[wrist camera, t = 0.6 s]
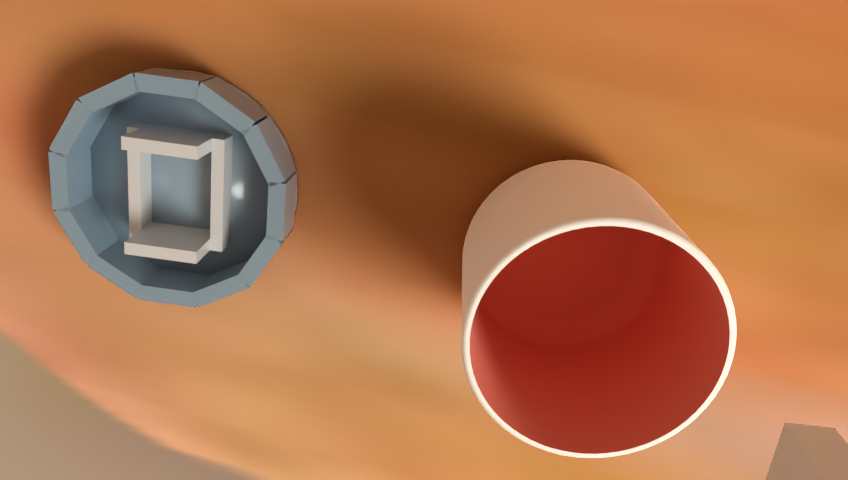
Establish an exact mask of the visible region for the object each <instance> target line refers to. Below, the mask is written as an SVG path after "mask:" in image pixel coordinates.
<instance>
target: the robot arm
mask: <svg viewBox="0 0 848 480" xmlns="http://www.w3.org/2000/svg"><path fill="white" fill-rule="evenodd" d="M766 480H848V444H847V443H846V441H845V440H844V439H843V438H842V437H841V435H840V434H839V433H838V432H837V431H836V429H835V428H828V427H820V426H811V425H802V424H793V423H785V424H784V427H783V430H782V433H781V436H780V439H779V442H778V445H777V448H776V451H775V454H774V457H773V460H772V463H771V465H770V468H769V471H768V474H767V477H766Z"/></svg>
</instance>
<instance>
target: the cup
mask: <svg viewBox="0 0 848 480" xmlns="http://www.w3.org/2000/svg"><path fill="white" fill-rule="evenodd" d="M736 335H737V327H736V316H735V309H734V305H733V302H732V298H731V295H730V293H729V290H728V288H727V286H726V284H725V282H724V280H723V278H722V276H721V275H720V273H719V272H718V270H717V268H716V267H715V266H714V265H713V263H712V262H711V261H710V260H709V259H708V257H707V256H706V255H705V254H704V253H703V252H702V251H701V250H700V249H699V248H698V247H697V245H696V244H695V243H694V242H693V241H692V240H691V239H690V238H689V237H688V236H687V235H686V234H685V233H684V231H683V230H682V229H681V228H680V227H679V226H678V225H677V224H676V223H675V222H674V221H673V220H672V218H671V217H670V216H669V215H668V214H667V213H666V212H665V211H664V210H663V209H662V208H661V206H660V205H659V204H658V203H657V202H656V201H655V200H654V199H653V198H652V197H651V196H650V194H649V193H648V192H647V191H646V190H645V189H644V188H643V187H642V186H640V185H639V184H638V183H637V182H636V181H634V180H633V179H631V178H630V177H629V176H627V175H625V174H623V173H622V172H620V171H617V170H615V169H613V168H610V167H608V166H606V165H602V164H599V163H595V162H589V161H583V160H558V161H552V162H546V163H542V164H539V165H535V166H532V167H530V168H528V169H525V170H523V171H521V172H519V173H517V174H515V175H513V176H512V177H510V178H509V179H507V180H506V181H504V182H503V183H502V184H500V185H499V186H498V187H497V188H496V189H495V190H494V191H492V192H491V193H490V195H489V196H488V197H487V198H486V199H485V200H484V201H483V203H482V204H481V206H480V207H479V208H478V210H477V212H476V213H475V215H474V217H473V219H472V221H471V223H470V226H469V228H468V231H467V234H466V237H465V241H464V246H463V255H462V357H463V363H464V368H465V372H466V375H467V378H468V381H469V383H470V386H471V388H472V390H473V392H474V394H475V396H476V397H477V399H478V401H479V402H480V404H481V405H482V407H483V408H484V409H485V410H486V411H487V413H488V414H489V415H490V416H491V417H492V418H493V419H494V420H495V421H496V422H497V423H498V424H499V425H500V426H501V427H503V428H504V429H505V430H506V431H508V432H509V433H511V434H512V435H513V436H515V437H517V438H518V439H520V440H522V441H524V442H526V443H528V444H530V445H532V446H535V447H537V448H540V449H543V450H545V451H548V452H552V453H555V454H559V455H565V456H571V457H581V458H604V457H613V456H619V455H624V454H629V453H633V452H636V451H639V450H643V449H646V448H648V447H651V446H653V445H655V444H658V443H660V442H662V441H664V440H666V439H667V438H669V437H671V436H673V435H675V434H676V433H678V432H679V431H680V430H682V429H683V428H685V427H686V426H687V425H689V424H690V423H691V422H692V421H693V420H695V419H696V418H697V417H698V416H699V415H700V414H701V413H702V412H703V411H704V410H705V409H706V408H707V406H708V405H709V404H710V403H711V401H712V400H713V399H714V397H715V396H716V394H717V393H718V391H719V390H720V388H721V386H722V385H723V383H724V381H725V379H726V376H727V374H728V372H729V369H730V366H731V363H732V360H733V356H734V352H735V346H736Z"/></svg>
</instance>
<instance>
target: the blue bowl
mask: <svg viewBox="0 0 848 480" xmlns="http://www.w3.org/2000/svg"><path fill="white" fill-rule="evenodd" d="M49 149H50V150H51V151H49V152H48V156H49V171H50V185H51V200H52V210H57V211H55V212H53V213H54V215H55V216H56V218H57V220H58V221H59V223H60V224H61V226H62V228H63V229H64V231H65V233H66V234H67V236H68V237H69V239H70V241H71V242H72V244H73V245H74V247H75V249H76V250H77V252H78V254H79V255H80V257H81V258H82V260H83V262H84V263H88V262H89V263H88V265H87V266H88V267H89V268H91V269H92V270H94V271H96V272H97V273H99V274H100V275H102V276H103V277H105V278H106V279H108V280H109V281H111V282H112V283H114V284H115V285H117V286H118V287H120V288H121V289H123V290H124V291H126V292H127V293H129V294H131V295H132V296H134V297H135V298H138V297H139V296H140V300H145V301H152V302H160V303H167V304H174V305H181V306H189V307H197V306H198V307H201V306H203V305H206V304H208V303H211V302H214V301H216V300H219V299H221V298H224V297H227V296H229V295H232V294H234V293H237V292H240V291H242V290H245V289H247V288H249V287H250V286H251V285H252V284H253V283H254V281H255V280H256V278H257V277H258V276H259V274H260V273H261V272H262V270H263V269H264V267H265V266H266V265H267V263H268V262H269V261H270V259H271V258H272V257H273V255H274V254H275V252H276V251H277V250H278V248H279V247H280V246H281V244H282V243H283V242H284V240H285V239H286V237H287V236H288V235H289V233H290V232H291V231H292V229H293V227H294V217H295V213H296V209H297V202H298V178H297V170H296V166H295V162H294V158H293V155H292V152H291V150H290V147H289V145H288V142H287V140H286V138H285V137H284V135H283V133H282V131H281V130H280V128H279V126H278V125H277V124H276V122H275V121H274V120H273V118H272V117H271V115H270V114H269V113H268V112H267V111H266V110H265V109H264V108H263V107H262V106H261V105H260V104H259V103H258V102H257V101H256V100H255V99H253V98H252V97H251V96H250V95H249V94H247V93H246V92H244V91H243V90H241V89H240V88H238V87H237V86H235V85H233V84H231V83H229V82H227V81H225V80H223V79H221V78H219V77H215V75H210V74H207V73H202V72H197V71H192V70H181V69H164V68H151V69H146V70H142V71H138V72H134V73H131V74H128V75H126V76H124V77H122V78H120V79H118V80H116V81H113V82H111V83H109V84H107V85H105V86H103V87H100V88H98V89H96V90H94V91H92V92H90V93H88V94H85V95H83V96H81V97H79V99H77V100H76V101H75V103H74V105H73V106H72V108H71V110H70V112H69V114H68V115H67V117H66V119H65V121H64V123H63V124H62V126H61V128H60V130H59V132H58V133H57V135H56V137H55V139H54V140H53V142H52V144H51V146H50V148H49Z"/></svg>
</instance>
